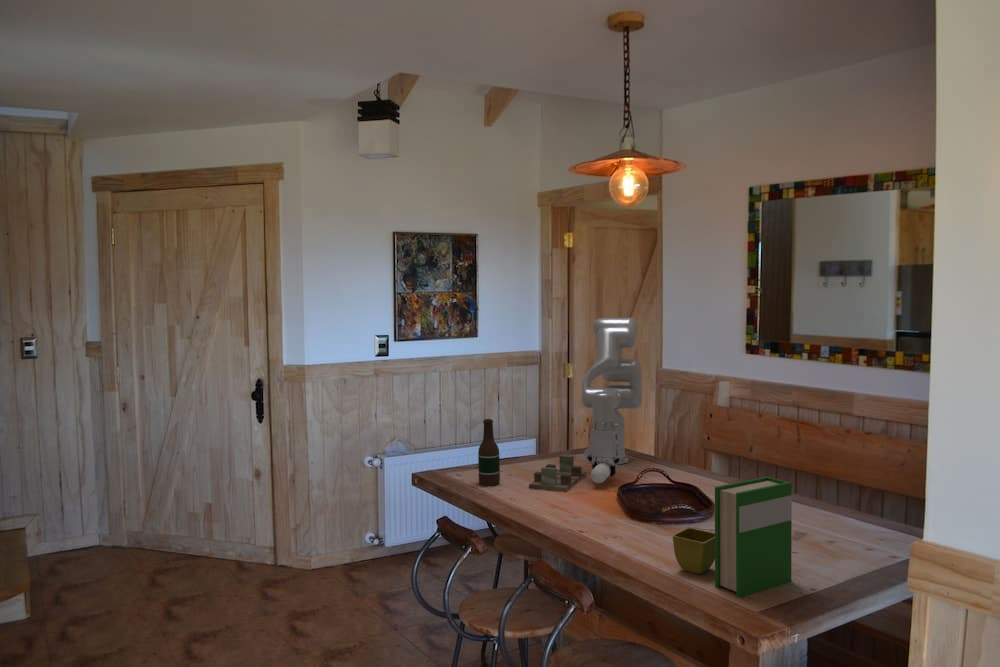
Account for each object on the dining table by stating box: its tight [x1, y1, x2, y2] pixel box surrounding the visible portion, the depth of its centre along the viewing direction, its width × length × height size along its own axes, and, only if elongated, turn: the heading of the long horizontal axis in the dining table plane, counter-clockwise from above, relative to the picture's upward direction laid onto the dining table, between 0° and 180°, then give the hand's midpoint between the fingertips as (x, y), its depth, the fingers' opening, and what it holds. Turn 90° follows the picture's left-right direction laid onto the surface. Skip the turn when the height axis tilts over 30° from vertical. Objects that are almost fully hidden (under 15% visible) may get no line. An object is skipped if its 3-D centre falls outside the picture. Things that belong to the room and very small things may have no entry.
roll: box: [590, 458, 618, 484], centre depth 276 cm, size 16×6×6 cm, turn 158°
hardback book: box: [714, 476, 793, 599], centre depth 180 cm, size 18×7×24 cm, turn 120°
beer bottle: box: [477, 418, 501, 487], centre depth 279 cm, size 8×8×24 cm
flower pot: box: [672, 527, 715, 575], centre depth 190 cm, size 9×9×9 cm
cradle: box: [528, 454, 587, 493], centre depth 281 cm, size 25×14×8 cm, turn 158°
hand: (603, 474), depth 276 cm, fingers closed on roll, 5 cm apart
